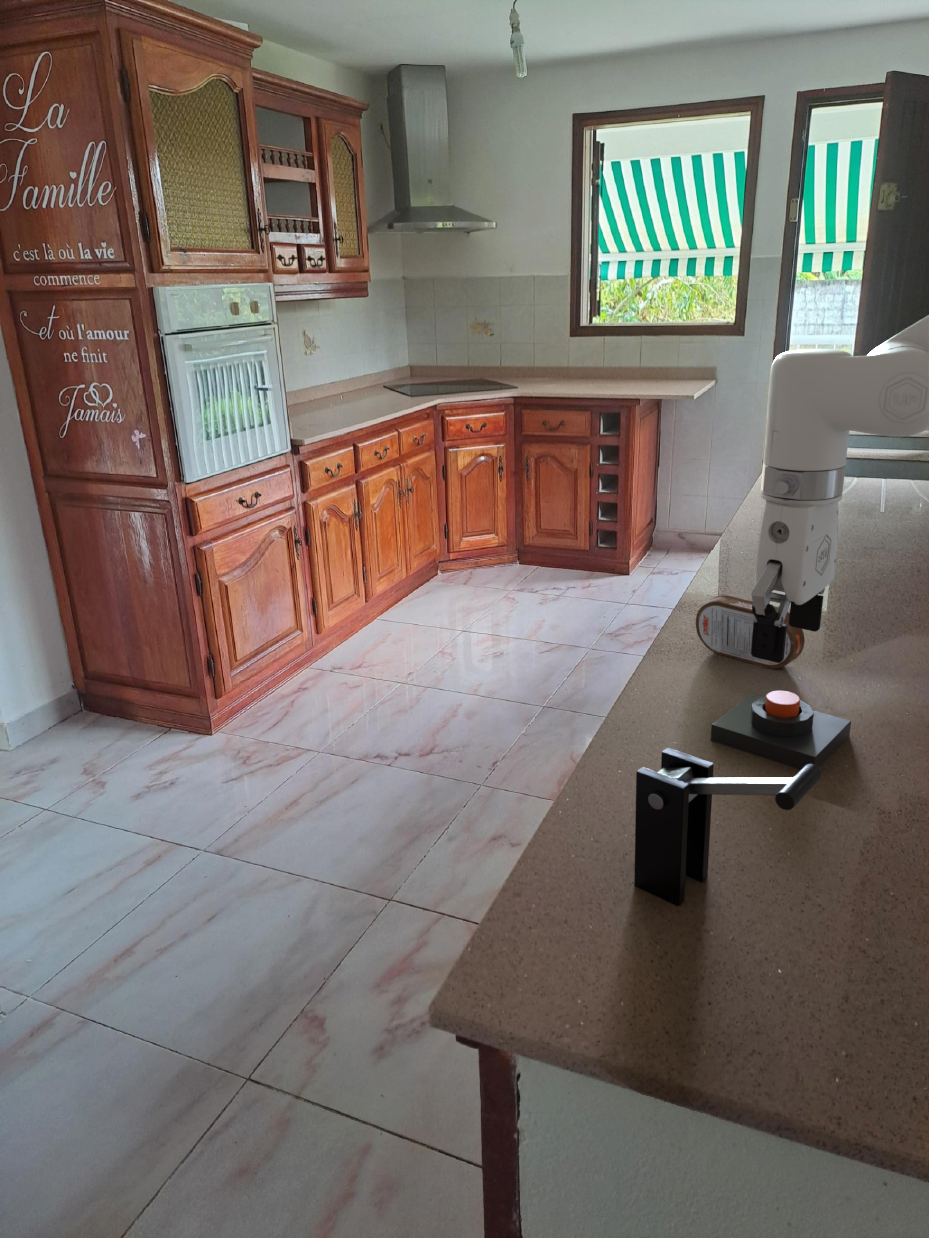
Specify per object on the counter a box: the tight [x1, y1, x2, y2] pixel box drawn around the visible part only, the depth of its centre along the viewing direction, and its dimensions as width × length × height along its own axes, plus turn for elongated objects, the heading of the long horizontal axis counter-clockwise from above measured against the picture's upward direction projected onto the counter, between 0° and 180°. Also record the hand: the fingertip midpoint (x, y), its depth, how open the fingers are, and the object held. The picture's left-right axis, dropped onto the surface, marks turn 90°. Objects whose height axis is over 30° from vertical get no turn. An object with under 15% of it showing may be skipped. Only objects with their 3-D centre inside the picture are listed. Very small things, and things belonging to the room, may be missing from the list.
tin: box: [695, 594, 806, 670], centre depth 120 cm, size 15×3×8 cm, turn 45°
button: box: [765, 690, 801, 718], centre depth 99 cm, size 4×4×2 cm
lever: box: [656, 764, 823, 811], centre depth 70 cm, size 13×5×2 cm, turn 47°
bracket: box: [633, 747, 715, 907], centre depth 75 cm, size 11×9×13 cm
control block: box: [710, 692, 852, 771], centre depth 100 cm, size 12×10×4 cm
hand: (786, 643), depth 92 cm, fingers open, 9 cm apart
